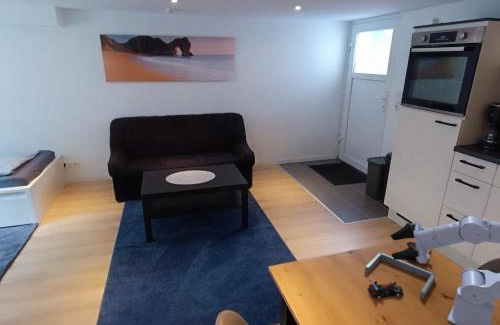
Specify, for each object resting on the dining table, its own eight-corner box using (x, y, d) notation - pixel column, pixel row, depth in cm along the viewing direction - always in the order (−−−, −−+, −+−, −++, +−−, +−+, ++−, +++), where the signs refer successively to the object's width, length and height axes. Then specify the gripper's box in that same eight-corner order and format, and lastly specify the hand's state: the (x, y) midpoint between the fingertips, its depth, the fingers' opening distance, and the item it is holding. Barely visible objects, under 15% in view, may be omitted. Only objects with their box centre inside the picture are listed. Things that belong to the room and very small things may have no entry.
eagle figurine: (428, 253, 123) (404, 244, 126) (435, 246, 118) (410, 237, 121) (426, 270, 119) (401, 261, 122) (432, 263, 114) (407, 254, 117)
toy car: (365, 288, 106) (366, 278, 105) (397, 285, 108) (399, 275, 106) (374, 300, 101) (375, 290, 99) (408, 297, 102) (409, 287, 101)
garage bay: (434, 279, 109) (435, 274, 109) (423, 298, 101) (424, 292, 100) (379, 257, 123) (379, 251, 122) (364, 272, 114) (365, 266, 113)
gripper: (427, 210, 94) (385, 222, 103) (434, 248, 84) (387, 258, 92) (438, 224, 96) (396, 235, 105) (446, 263, 86) (398, 271, 94)
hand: (392, 247), depth 98 cm, fingers open, 7 cm apart
